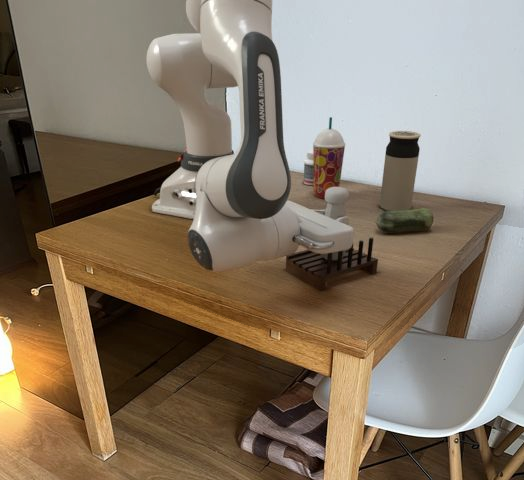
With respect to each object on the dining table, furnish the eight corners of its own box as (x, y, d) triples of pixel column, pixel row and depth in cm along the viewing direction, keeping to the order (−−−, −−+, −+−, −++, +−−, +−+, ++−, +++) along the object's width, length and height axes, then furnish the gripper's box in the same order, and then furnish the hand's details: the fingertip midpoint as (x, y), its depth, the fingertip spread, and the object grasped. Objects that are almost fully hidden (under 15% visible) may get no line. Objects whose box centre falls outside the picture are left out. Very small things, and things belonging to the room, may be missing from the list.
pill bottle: (316, 186, 156) (317, 154, 151) (300, 184, 158) (301, 152, 154) (324, 182, 160) (326, 151, 155) (308, 179, 162) (310, 148, 157)
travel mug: (405, 214, 136) (416, 138, 126) (375, 209, 139) (383, 134, 129) (414, 205, 141) (425, 132, 132) (385, 200, 145) (394, 129, 135)
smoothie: (320, 189, 154) (324, 113, 143) (346, 194, 150) (353, 116, 139) (304, 196, 148) (308, 118, 137) (331, 202, 144) (337, 121, 133)
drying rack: (285, 270, 107) (286, 234, 103) (339, 254, 114) (342, 220, 110) (320, 290, 100) (323, 253, 96) (376, 273, 106) (381, 236, 102)
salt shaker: (345, 263, 102) (352, 194, 95) (315, 260, 103) (319, 192, 96) (348, 251, 107) (354, 185, 100) (319, 249, 108) (323, 183, 101)
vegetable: (425, 225, 129) (428, 204, 126) (435, 232, 125) (439, 211, 122) (369, 229, 127) (372, 208, 124) (378, 237, 122) (380, 215, 120)
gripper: (316, 231, 86) (379, 215, 92) (246, 199, 100) (305, 187, 107) (314, 268, 89) (375, 250, 96) (247, 232, 103) (304, 218, 110)
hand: (338, 217), depth 101 cm, fingers closed on salt shaker, 3 cm apart
